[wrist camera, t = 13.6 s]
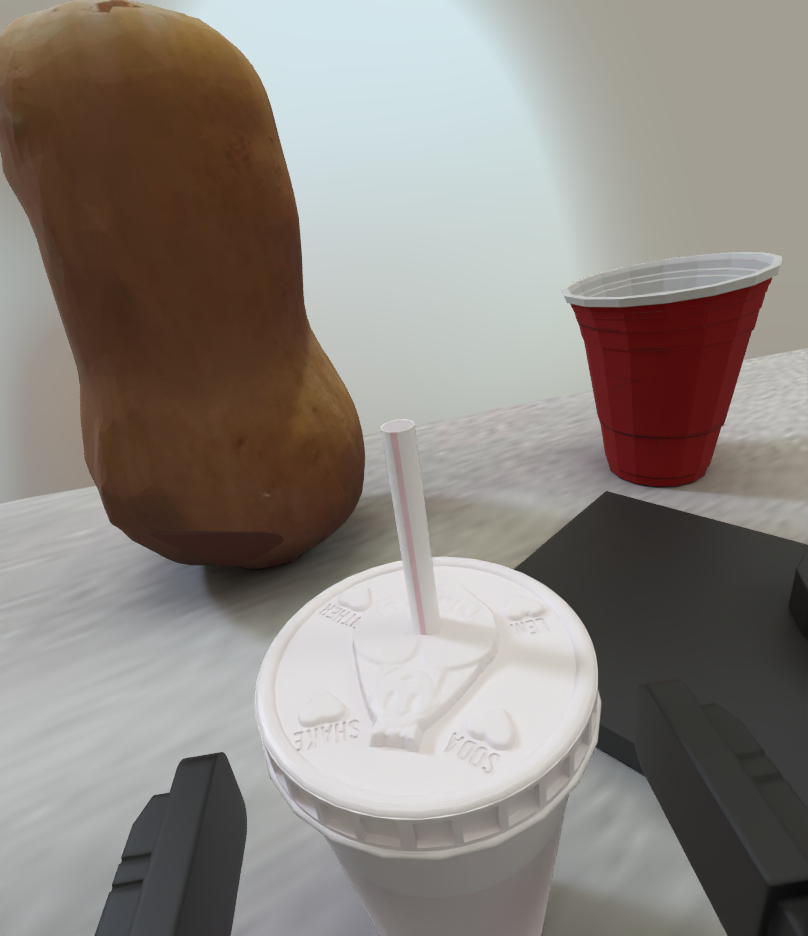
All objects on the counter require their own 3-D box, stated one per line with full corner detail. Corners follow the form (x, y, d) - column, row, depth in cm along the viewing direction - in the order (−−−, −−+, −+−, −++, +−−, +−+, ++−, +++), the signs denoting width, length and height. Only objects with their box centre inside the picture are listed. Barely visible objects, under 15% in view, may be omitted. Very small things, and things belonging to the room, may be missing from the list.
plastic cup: (572, 429, 43) (572, 260, 37) (740, 433, 38) (765, 243, 33) (551, 502, 34) (546, 292, 28) (766, 517, 30) (806, 275, 24)
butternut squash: (363, 476, 40) (285, 41, 29) (397, 590, 28) (286, -75, 17) (160, 517, 38) (-3, 73, 28) (104, 657, 26) (-221, -30, 16)
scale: (970, 969, 13) (1013, 893, 12) (441, 655, 24) (433, 597, 23) (1010, 626, 21) (1038, 559, 20) (605, 509, 32) (606, 461, 31)
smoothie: (589, 829, 17) (595, 365, 11) (603, 1153, 11) (634, 574, 5) (380, 798, 19) (285, 382, 12) (304, 1065, 13) (67, 553, 7)
